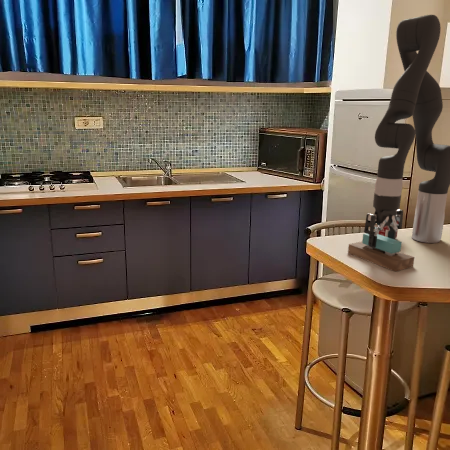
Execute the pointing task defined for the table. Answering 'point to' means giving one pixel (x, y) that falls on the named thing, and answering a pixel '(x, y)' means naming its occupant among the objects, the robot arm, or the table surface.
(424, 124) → the robot arm
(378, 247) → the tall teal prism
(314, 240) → the table surface
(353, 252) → the board
